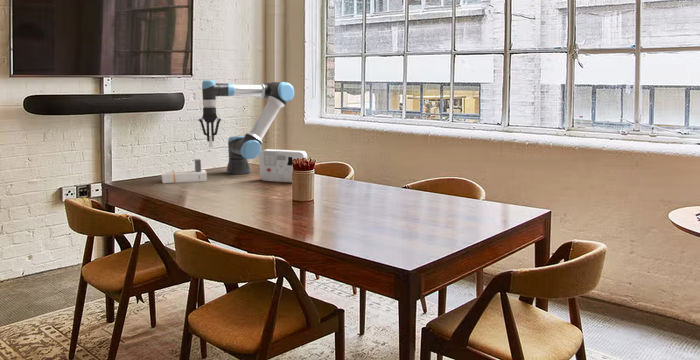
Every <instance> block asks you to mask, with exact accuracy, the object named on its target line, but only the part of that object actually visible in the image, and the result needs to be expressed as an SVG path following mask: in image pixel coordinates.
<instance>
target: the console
mask: <svg viewBox="0 0 700 360" xmlns="http://www.w3.org/2000/svg"><path fill="white" fill-rule="evenodd" d="M161 182H162V184H174V183H191V182H193V183H194V182H195V183H196V182H208V172H207V170H206V169H201V171H199V172H197V171H195V169H194V170H191V169H190V170H172V171H161Z"/></svg>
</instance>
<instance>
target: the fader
mask: <svg viewBox="0 0 700 360" xmlns="http://www.w3.org/2000/svg"><path fill="white" fill-rule="evenodd" d="M201 162H202V161H201V159H200V158H199V159H198V158H197V159H194V170H195V171H197V172H199V171H201V170H202V163H201Z"/></svg>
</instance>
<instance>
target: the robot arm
mask: <svg viewBox="0 0 700 360" xmlns="http://www.w3.org/2000/svg"><path fill="white" fill-rule="evenodd" d="M294 89H295V88H294V86H293V85H292V84H291V83H289V82H286V81H282V82H281V81H279V82H278V81H273V82H260V83H258V84H252V83H249V84H248V83H221V82H218V83H217V82H216V81H215V80H214V79H205V80H202V83H201V90H202V91H201V93H202V107H203V108H202V113H203V114H202V117H201V118H199V119H198V121H199V122H200V126H201V128H202V132H203V135H204V136H206V141H207V142H208V146H209V148H213V142H214V141H215V136H217V134H218V131H219V126H220V122H221V121H222V119H221V118H219V117H218V116H217V107H216V106H217V101H216V99H217V98H216V97H259V99H265V100H268V101H267V103H266V105H265V106H264V108H263V109H262V111H261V113H260V114H259V117H258V118H257V120H256V122H255V123H254V124H253V126H252V127H251V130H250V131H249V132H247V133H245V135H241V136H239V135H238V136H230V137H228V139H227V141H228V142H227V146H228V147H227V148H228V149H227V150H228V163H227V167H226V170H225V171H226V174H229V175H245V174H250V173H251V167H250V163H249V160H253V159H256V158H258V157H259V153H260V152H261V151H262V144H263V139H264V137H265V135H266V133H267V132H268V130H269V129H270V126H271V125H272V123H273V122H274V120H275V118H276V116H277V115H278V113H279V111H280V110H281V108H284V107H285V106H286V105H287V103H288V102H290V101H292V100H293V99H294V96H295V90H294ZM215 121H216V125H214V123H215ZM204 122H205V124H206V127H205V125H204ZM205 128H206V129H205ZM210 128H211V129H210ZM214 128H215V129H214ZM210 131H211V132H210ZM210 133H211V134H210Z"/></svg>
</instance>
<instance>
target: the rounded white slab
mask: <svg viewBox="0 0 700 360" xmlns="http://www.w3.org/2000/svg"><path fill="white" fill-rule="evenodd" d="M258 157H259V158H258V160H259V178H260V180H262V181H263V182H265V181H266V182H280V183H281V182H282V183H293V182H292V170H293V165H292V160H293V159H296V158H300V159H301V158H306V159H307V160H308V153H307V152H306V151H304V150H293V149H292V150H290V149H269V148H267V149H261V152H260V153H259V156H258Z"/></svg>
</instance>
